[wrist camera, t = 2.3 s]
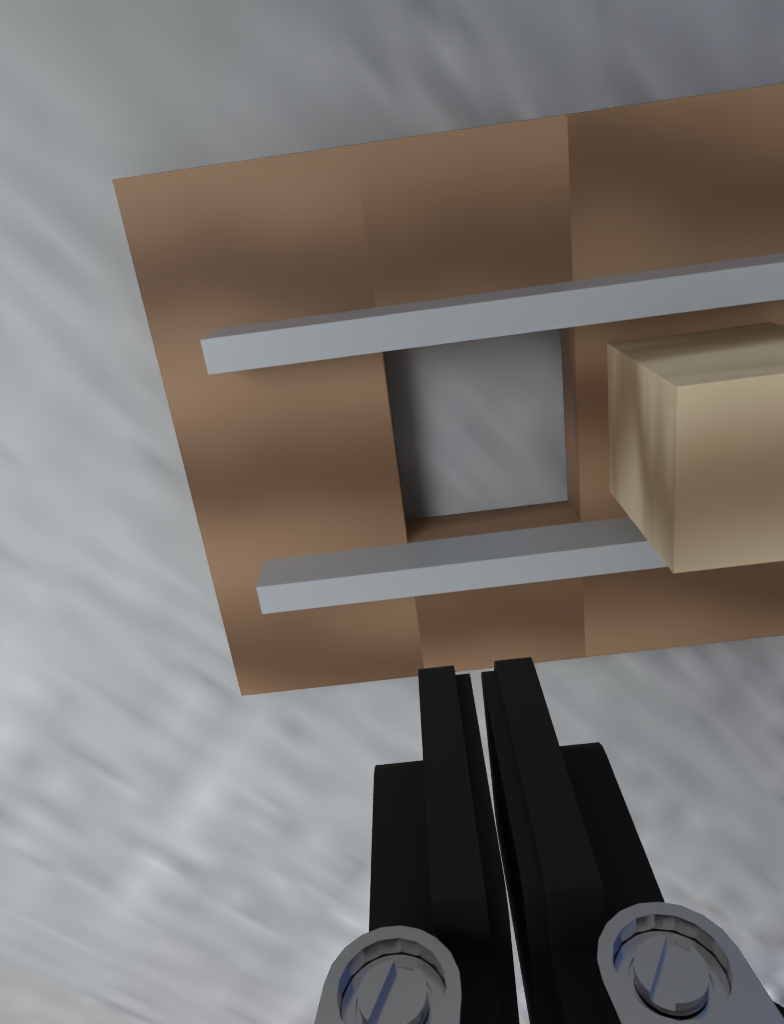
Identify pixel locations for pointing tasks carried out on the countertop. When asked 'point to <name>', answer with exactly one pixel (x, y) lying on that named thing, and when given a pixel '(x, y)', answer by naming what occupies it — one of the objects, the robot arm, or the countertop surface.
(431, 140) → the deck
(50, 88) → the countertop surface
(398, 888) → the robot arm
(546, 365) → the countertop surface
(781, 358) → the block
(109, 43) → the countertop surface
